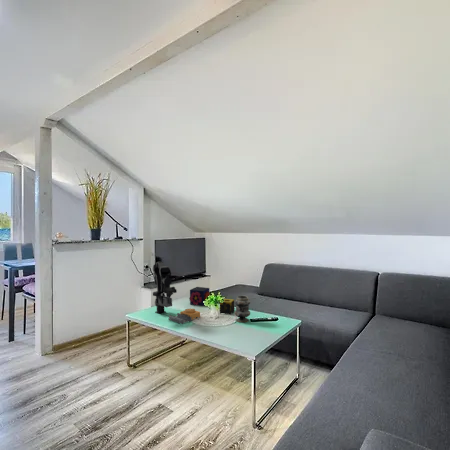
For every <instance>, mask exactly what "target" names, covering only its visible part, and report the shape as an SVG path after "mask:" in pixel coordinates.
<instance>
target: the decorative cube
mask: <svg viewBox="0 0 450 450" xmlns="http://www.w3.org/2000/svg"><path fill="white" fill-rule="evenodd" d="M209 295H210V296H211V293H210V287H203V286H202V287H201V286H196V287H193V288H191V289H189V304H190V306H198V307H199V306H200V307H201V306H202V307H204V306H205V305H204V303H203V301H204V300H205V299H206V298H207V297H208V296H209Z"/></svg>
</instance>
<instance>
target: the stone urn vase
mask: <svg viewBox="0 0 450 450" xmlns="http://www.w3.org/2000/svg"><path fill="white" fill-rule="evenodd" d="M250 304H251V300H250V299H249V296H247V295H237V296H236V299H234V305H235V309H234V310H235V311H234V312H233V313H234V315H235V316H236V317H238V318H236V319H235V321H236V322H237V323H248V322H249V321H250V319H249V318H248V317H249V316H250V315H251V311H250V309H249V307H250V306H249V305H250Z"/></svg>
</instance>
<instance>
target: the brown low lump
mask: <svg viewBox="0 0 450 450" xmlns="http://www.w3.org/2000/svg"><path fill="white" fill-rule="evenodd" d="M179 313H180V314H183V315H186V316H190V317H192V320H195V319H197V318H196V317H198V318H200V317H201V312H200V311H199V310H196V309H195V308H191V307H190V308H186V309H184V310H182V311H179ZM199 316H200V317H199ZM194 318H195V319H194Z"/></svg>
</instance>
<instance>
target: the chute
mask: <svg viewBox="0 0 450 450" xmlns="http://www.w3.org/2000/svg"><path fill="white" fill-rule="evenodd" d="M158 305H161V306H164V308H169V307H173V297H167V296H166V295H165V296H163V304H161V301H160V299H159V298H158Z"/></svg>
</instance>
